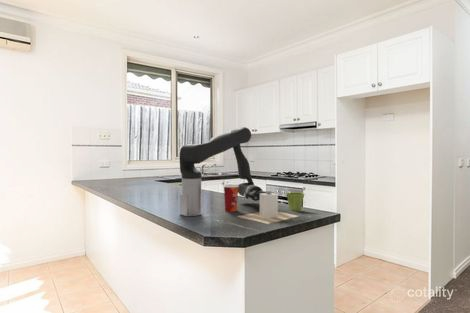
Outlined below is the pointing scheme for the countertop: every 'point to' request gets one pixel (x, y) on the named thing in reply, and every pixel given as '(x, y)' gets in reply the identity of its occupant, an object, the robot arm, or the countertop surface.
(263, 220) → the board
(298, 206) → the plant pot
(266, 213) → the white upright block
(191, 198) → the robot arm
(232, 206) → the paper cup
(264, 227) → the countertop surface
